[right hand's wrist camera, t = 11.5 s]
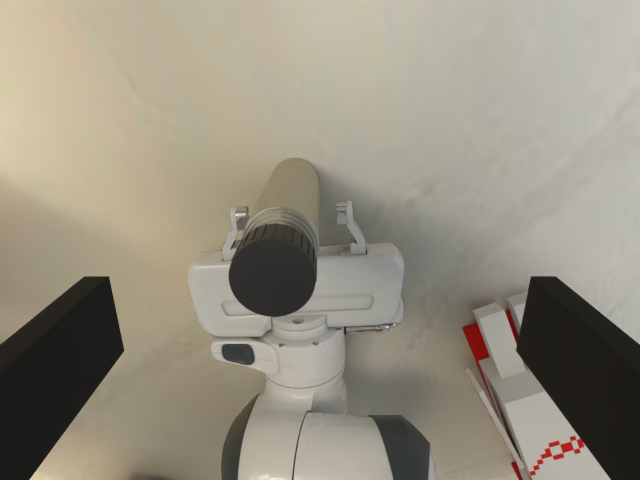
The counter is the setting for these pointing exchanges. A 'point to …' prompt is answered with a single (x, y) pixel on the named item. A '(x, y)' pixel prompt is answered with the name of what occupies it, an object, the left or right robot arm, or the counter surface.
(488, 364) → the toy
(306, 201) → the bottle
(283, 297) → the cap
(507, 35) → the counter surface
